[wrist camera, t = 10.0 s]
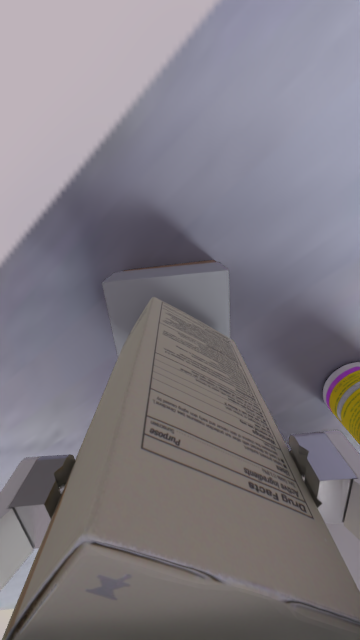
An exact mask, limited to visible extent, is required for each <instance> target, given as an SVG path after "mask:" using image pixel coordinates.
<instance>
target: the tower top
mask: <svg viewBox="0 0 360 640" xmlns="http://www.w3.org/2000/svg"><path fill="white" fill-rule="evenodd" d="M102 286H103V291H104V295H105V300H106V305H107V309H108V314H109V319H110V324H111V328H112V333H113V338H114V342H115V347H116V352H117V356H118V357H119V354H120V352H121V349H122V347H123V345H124V343H125V341H126V339H127V338H128V336H129V334H130V332H131V330H132V329H133V327H134V325H135V324H136V322H137V320H138V319H139V317H140V315H141V314H142V312H143V310H144V309H145V307H146V306H147V304H148V303H149V301H150V300H151V298H152V297H156V298H158V299H159V300H161V301H163V302H165V303H167V304H169V305H171V306H173V307H175V308H177V309H179V310H181V311H182V312H184V313H186V314H188V315H190V316H192V317H193V318H195V319H197V320H199V321H201V322H202V323H204V324H206V325H208V326H209V327H211V328H213V329H215V330H216V331H218V332H220V333H221V334H223V335H225V336H226V337H228V338H230V297H229V270H228V269H227V268H226V267H225V266H224V265H222V264H221V263H220V262H214V263H204V264H194V265H184V266H173V267H163V268H153V269H143V270H133V271H123V272H114V273H113V274H112V275H111V276H109V277H108V278H107V279H106V280H104V281H103V282H102Z"/></svg>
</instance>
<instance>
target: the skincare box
mask: <svg viewBox="0 0 360 640" xmlns="http://www.w3.org/2000/svg"><path fill="white" fill-rule="evenodd" d="M2 640H360V591H359V589H358V588H357V586H356V584H355V582H354V580H353V578H352V576H351V574H350V572H349V570H348V568H347V566H346V564H345V562H344V560H343V558H342V556H341V554H340V552H339V550H338V548H337V546H336V544H335V542H334V540H333V538H332V536H331V534H330V532H329V530H328V528H327V526H326V524H325V522H324V520H323V518H322V516H321V514H320V512H319V510H318V508H317V506H316V504H315V502H314V500H313V498H312V496H311V494H310V492H309V490H308V488H307V486H306V484H305V482H304V480H303V478H302V476H301V474H300V472H299V470H298V468H297V466H296V464H295V462H294V460H293V458H292V456H291V454H290V452H289V450H288V448H287V446H286V444H285V442H284V440H283V438H282V436H281V434H280V432H279V430H278V428H277V426H276V424H275V422H274V420H273V418H272V416H271V414H270V412H269V410H268V408H267V406H266V404H265V402H264V400H263V398H262V396H261V394H260V392H259V390H258V388H257V386H256V384H255V382H254V380H253V378H252V376H251V374H250V372H249V370H248V368H247V366H246V364H245V362H244V360H243V358H242V356H241V354H240V352H239V350H238V348H237V346H236V344H235V342H234V341H233V340H231V339H230V338H228V337H226V336H225V335H223V334H221V333H220V332H218V331H216V330H215V329H213V328H211V327H209V326H208V325H206V324H204V323H202V322H201V321H199V320H197V319H195V318H193V317H192V316H190V315H188V314H186V313H184V312H182V311H181V310H179V309H177V308H175V307H173V306H171V305H169V304H167V303H165V302H163V301H161V300H159V299H158V298H156V297H152V298H151V300H150V301H149V303H148V304H147V306H146V307H145V309H144V310H143V312H142V314H141V315H140V317H139V319H138V320H137V322H136V324H135V325H134V327H133V329H132V330H131V332H130V334H129V336H128V338H127V339H126V341H125V343H124V345H123V347H122V349H121V352H120V354H119V357H118V359H117V362H116V364H115V366H114V369H113V371H112V373H111V376H110V378H109V381H108V383H107V386H106V388H105V391H104V393H103V395H102V398H101V400H100V402H99V405H98V407H97V410H96V412H95V415H94V417H93V419H92V422H91V424H90V426H89V429H88V431H87V433H86V436H85V438H84V441H83V443H82V445H81V448H80V450H79V453H78V455H77V458H76V460H75V463H74V465H73V467H72V470H71V472H70V475H69V477H68V480H67V482H66V484H65V487H64V489H63V492H62V494H61V496H60V499H59V501H58V504H57V506H56V508H55V511H54V513H53V516H52V518H51V521H50V523H49V526H48V528H47V531H46V533H45V535H44V538H43V540H42V543H41V545H40V548H39V550H38V552H37V555H36V557H35V560H34V562H33V565H32V567H31V570H30V572H29V575H28V577H27V580H26V582H25V585H24V587H23V589H22V592H21V594H20V597H19V599H18V601H17V604H16V606H15V609H14V611H13V614H12V616H11V619H10V621H9V624H8V626H7V629H6V631H5V634H4V636H3V638H2Z"/></svg>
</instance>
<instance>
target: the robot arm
mask: <svg viewBox="0 0 360 640" xmlns="http://www.w3.org/2000/svg"><path fill="white" fill-rule="evenodd" d="M289 445H290V447H291V449H292V450H291V451H290V454H291V456H292V458H293V460H294V462H295V464H296V466H297V468H298V470H299V472H300V474H301V476H302V478H303V480H304V482H305V484H306V486H307V488H308V490H309V492H310V494H311V496H312V498H313V500H314V502H315V504H316V506H317V508H318V510H319V512H320V514H321V516H322V518H323V520H324V522H325V524H326V526H327V528H328V530H329V532H330V534H331V536H332V538H333V540H334V542H335V544H336V546H337V548H338V550H339V552H340V554H341V556H342V558H343V560H344V562H345V564H346V566H347V568H348V570H349V572H350V574H351V576H352V578H353V580H354V582H355V584H356V586H357V588H358V589H359V591H360V454H359V453H358V452H357V451H356V449H355V448H354V447H353V446H352V445H351V443H350V442H349V441H348V440H347V438H346V437H345V436H344V435H343V433H342V432H340V431H338V430H335V431H324V432H312V433H302V434H292V435H291V436H290V437H289ZM74 463H75V459H74V456H73V455H55V456H41V457H27V458H25V459H24V460H22V461H21V462H20V464H19V465H18V467H17V468H16V470H15V471H14V473H13V474H12V476H11V477H10V479H9V480H8V482H7V483H6V485H5V486H4V488H3V489H2V491H1V492H0V591H1V590H2V589H3V588H4V586H5V585H6V584H7V583H8V581H9V580H10V579H11V578H12V577H13V575H14V574H15V573H16V572H17V570H18V569H19V568H20V567H21V565H22V564H23V563H24V562H25V561H26V559H27V558H28V557H29V556H30V554H31V553H32V552H33V551H34V550H33V549H34V548H40V545H41V543H42V540H43V538H44V535H45V533H46V531H47V528H48V526H49V523H50V521H51V518H52V516H53V513H54V511H55V508H56V506H57V504H58V501H59V499H60V496H61V494H62V492H63V489H64V487H65V484H66V482H67V480H68V477H69V475H70V472H71V470H72V467H73V465H74Z"/></svg>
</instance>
